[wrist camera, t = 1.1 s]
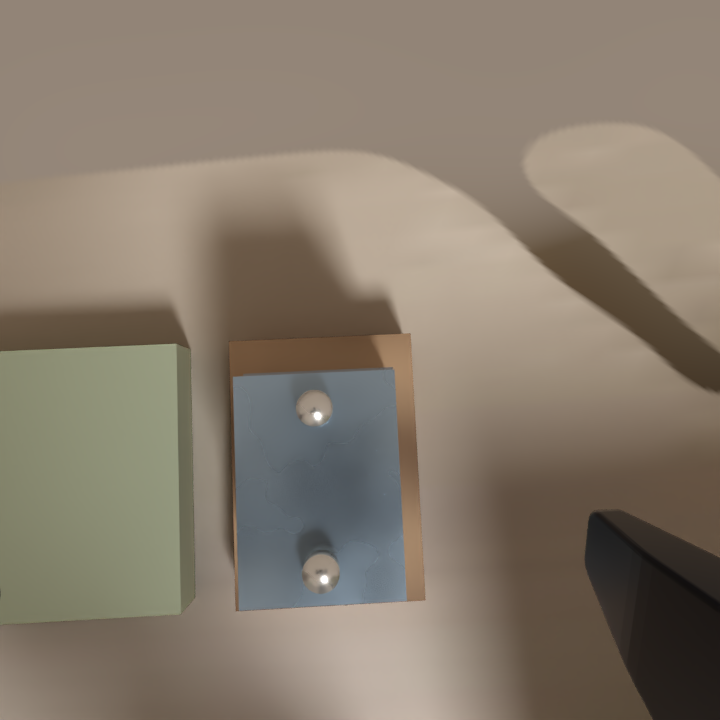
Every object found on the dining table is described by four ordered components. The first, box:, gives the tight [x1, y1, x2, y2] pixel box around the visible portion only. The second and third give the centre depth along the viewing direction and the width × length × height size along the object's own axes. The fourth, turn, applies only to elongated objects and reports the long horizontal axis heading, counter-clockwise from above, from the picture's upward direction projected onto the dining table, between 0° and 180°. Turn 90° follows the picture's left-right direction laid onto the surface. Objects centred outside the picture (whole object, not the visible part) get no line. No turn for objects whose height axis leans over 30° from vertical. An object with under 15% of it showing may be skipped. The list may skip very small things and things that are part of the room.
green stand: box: [0, 344, 195, 625], centre depth 22 cm, size 10×9×2 cm
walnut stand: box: [229, 334, 425, 611], centre depth 22 cm, size 10×7×2 cm
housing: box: [233, 367, 407, 611], centre depth 18 cm, size 7×5×6 cm
